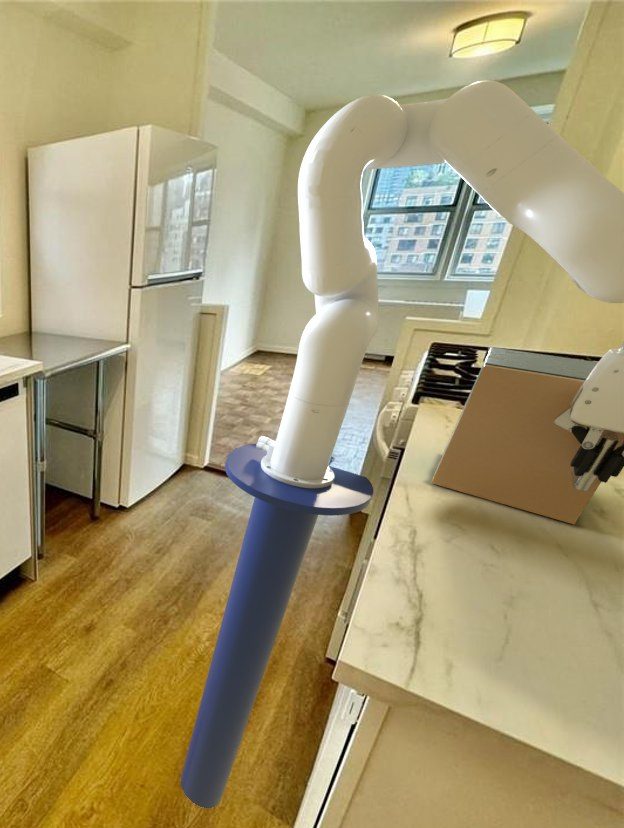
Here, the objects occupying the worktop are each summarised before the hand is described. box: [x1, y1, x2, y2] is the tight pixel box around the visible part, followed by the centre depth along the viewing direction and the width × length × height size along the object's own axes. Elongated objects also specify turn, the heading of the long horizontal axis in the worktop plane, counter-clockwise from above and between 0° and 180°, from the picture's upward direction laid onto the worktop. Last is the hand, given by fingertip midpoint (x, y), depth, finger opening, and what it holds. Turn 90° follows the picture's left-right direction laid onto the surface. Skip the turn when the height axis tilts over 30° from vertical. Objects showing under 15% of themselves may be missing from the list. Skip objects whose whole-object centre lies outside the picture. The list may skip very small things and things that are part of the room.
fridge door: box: [431, 364, 624, 525], centre depth 74 cm, size 7×18×22 cm, turn 46°
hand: (589, 474), depth 68 cm, fingers closed on fridge door
